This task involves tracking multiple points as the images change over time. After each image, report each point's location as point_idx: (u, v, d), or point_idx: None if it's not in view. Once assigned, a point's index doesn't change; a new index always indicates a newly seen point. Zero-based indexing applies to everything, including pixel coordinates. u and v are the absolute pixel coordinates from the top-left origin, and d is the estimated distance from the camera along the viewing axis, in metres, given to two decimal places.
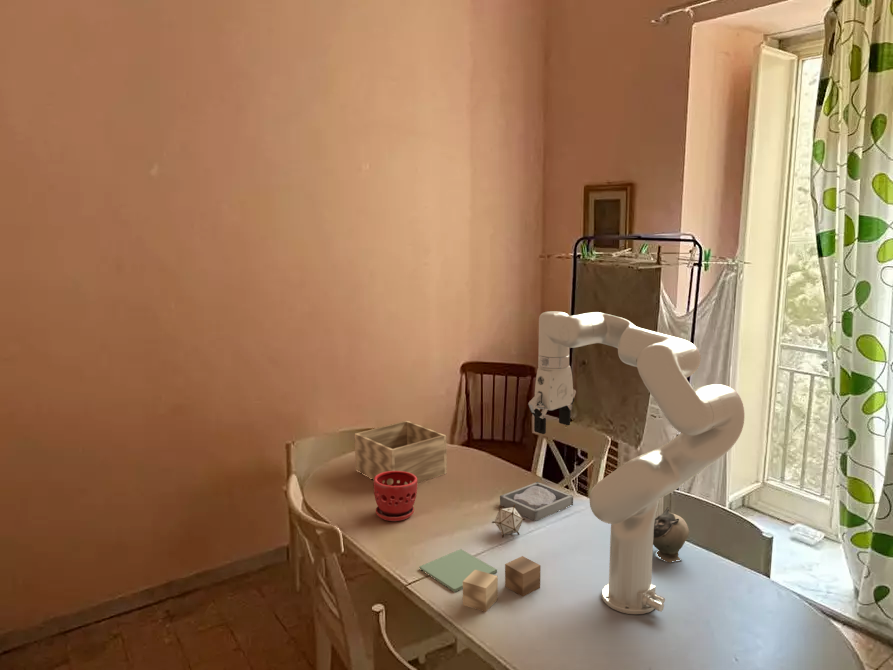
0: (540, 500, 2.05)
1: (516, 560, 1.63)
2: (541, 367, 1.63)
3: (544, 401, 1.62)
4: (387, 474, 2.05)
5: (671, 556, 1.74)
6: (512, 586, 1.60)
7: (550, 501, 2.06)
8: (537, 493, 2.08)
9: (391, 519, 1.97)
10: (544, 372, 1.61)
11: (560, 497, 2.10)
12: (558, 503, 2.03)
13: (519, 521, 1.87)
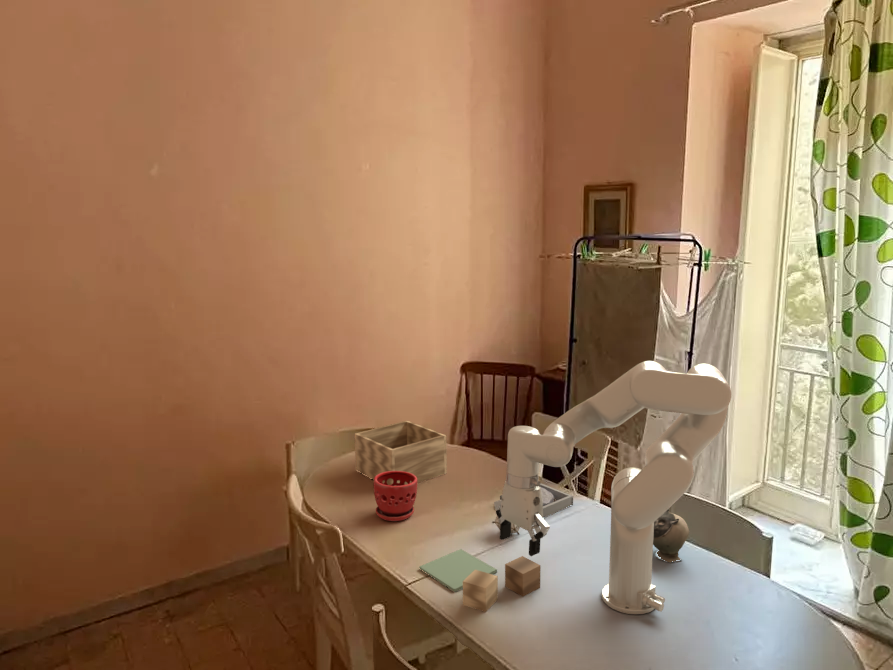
0: None
1: (516, 560, 1.63)
2: (531, 488, 1.54)
3: None
4: (387, 474, 2.05)
5: (671, 556, 1.74)
6: (512, 586, 1.60)
7: (548, 500, 2.06)
8: None
9: (391, 519, 1.97)
10: (538, 491, 1.55)
11: (560, 497, 2.10)
12: (558, 503, 2.03)
13: None
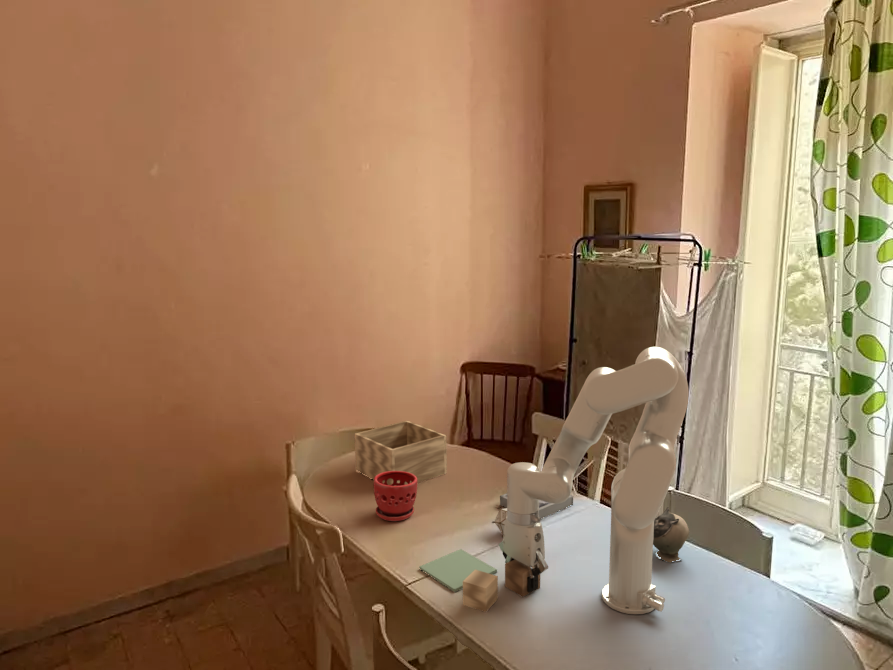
0: None
1: (516, 560, 1.63)
2: (531, 525, 1.56)
3: None
4: (387, 474, 2.05)
5: (671, 556, 1.74)
6: (512, 586, 1.60)
7: None
8: None
9: (391, 519, 1.97)
10: (539, 527, 1.56)
11: None
12: None
13: None
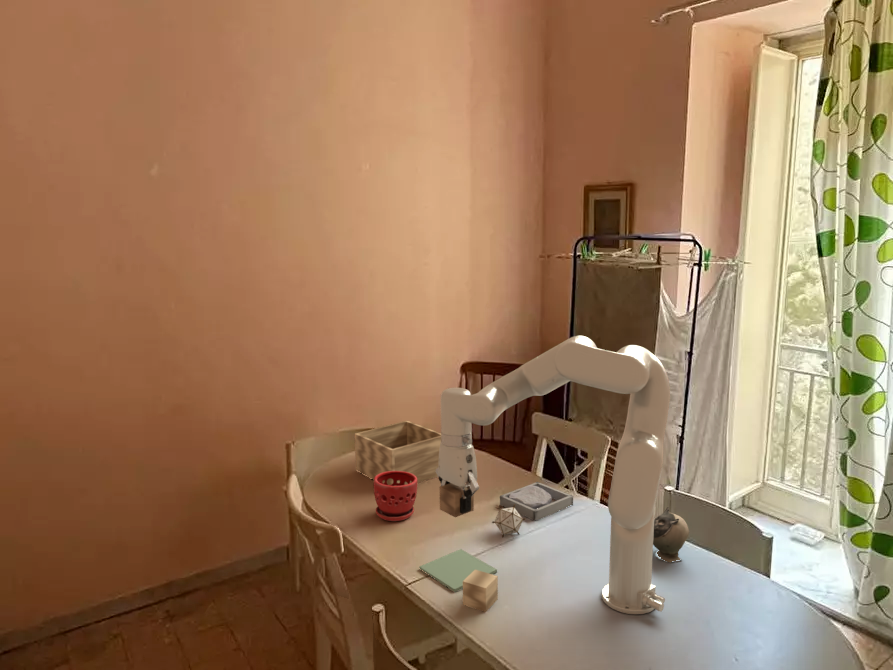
0: (535, 500, 2.06)
1: (451, 484, 1.68)
2: (463, 446, 1.61)
3: None
4: (387, 474, 2.05)
5: (671, 556, 1.74)
6: (446, 508, 1.65)
7: (545, 501, 2.06)
8: (533, 492, 2.09)
9: (391, 519, 1.97)
10: (471, 449, 1.61)
11: (560, 497, 2.10)
12: (558, 503, 2.03)
13: (519, 521, 1.87)
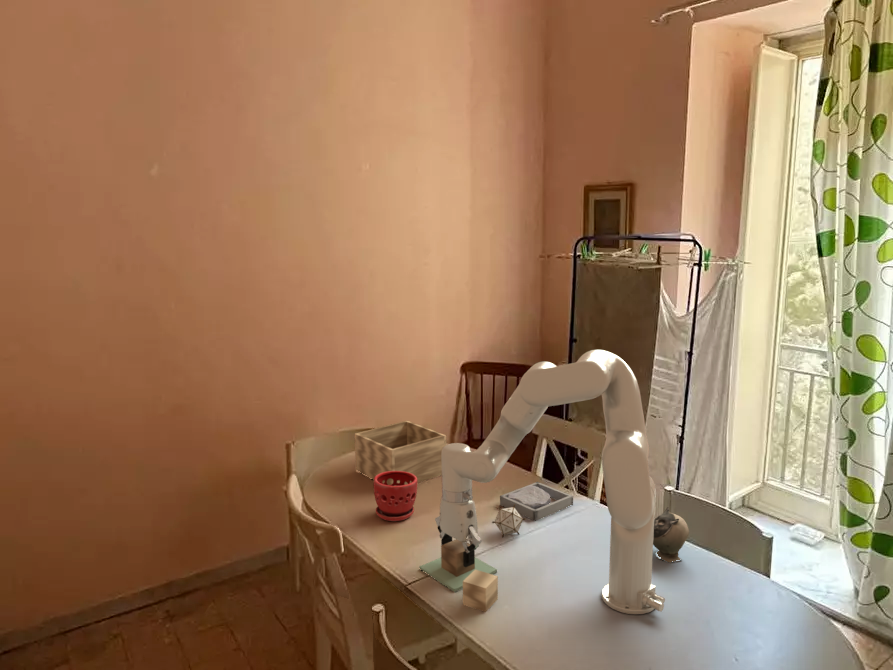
0: (534, 500, 2.06)
1: (452, 542, 1.71)
2: (464, 502, 1.63)
3: None
4: (387, 474, 2.05)
5: (671, 556, 1.74)
6: (447, 566, 1.68)
7: (544, 501, 2.06)
8: (532, 492, 2.09)
9: (391, 519, 1.97)
10: (471, 505, 1.64)
11: (560, 497, 2.10)
12: (558, 503, 2.03)
13: (519, 521, 1.87)
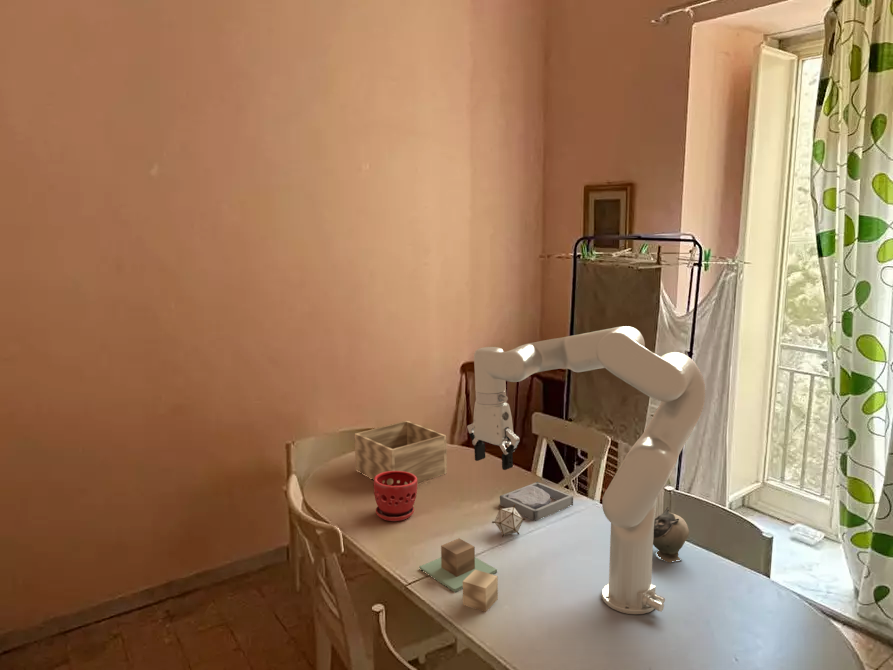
0: (534, 500, 2.06)
1: (452, 542, 1.71)
2: (499, 404, 1.61)
3: None
4: (387, 474, 2.05)
5: (671, 556, 1.74)
6: (447, 566, 1.68)
7: (544, 501, 2.06)
8: (532, 492, 2.09)
9: (391, 519, 1.97)
10: (506, 406, 1.62)
11: (560, 497, 2.10)
12: (558, 503, 2.03)
13: (519, 521, 1.87)
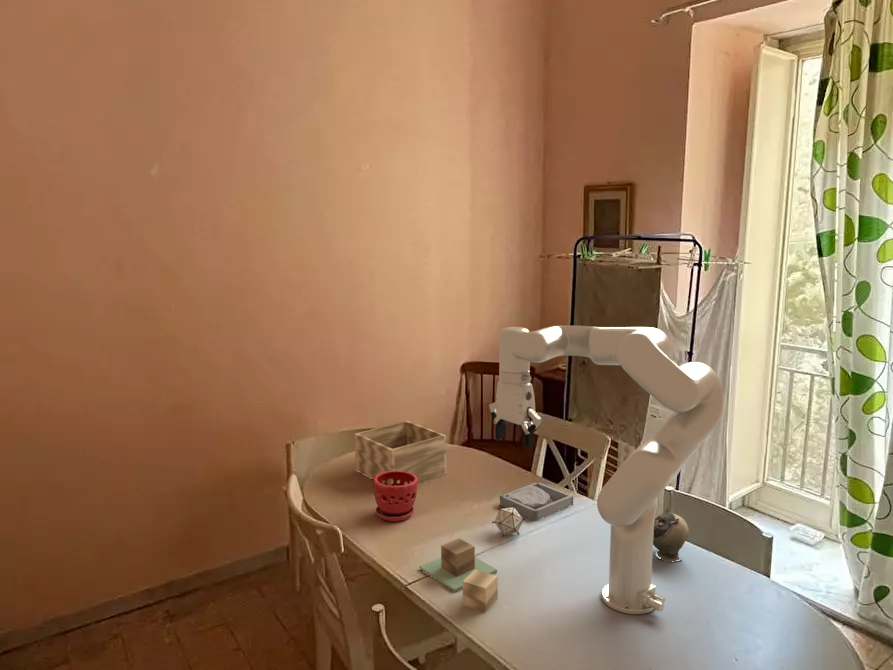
0: (534, 500, 2.06)
1: (452, 542, 1.71)
2: (522, 384, 1.62)
3: None
4: (387, 474, 2.05)
5: (671, 556, 1.74)
6: (447, 566, 1.68)
7: (544, 501, 2.06)
8: (532, 493, 2.09)
9: (391, 519, 1.97)
10: (530, 386, 1.63)
11: (560, 497, 2.10)
12: (558, 503, 2.03)
13: (519, 521, 1.87)
